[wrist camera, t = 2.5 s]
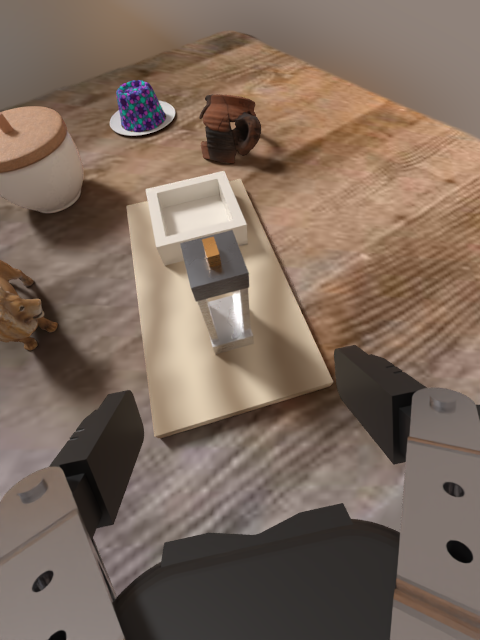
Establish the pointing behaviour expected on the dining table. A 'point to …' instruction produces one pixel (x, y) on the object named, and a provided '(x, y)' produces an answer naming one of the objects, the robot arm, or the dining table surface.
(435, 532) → the robot arm
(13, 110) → the lidded bowl
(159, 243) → the box
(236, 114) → the pottery mug
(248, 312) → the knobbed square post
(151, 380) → the board
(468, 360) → the dining table surface
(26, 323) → the lion figurine
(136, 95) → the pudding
